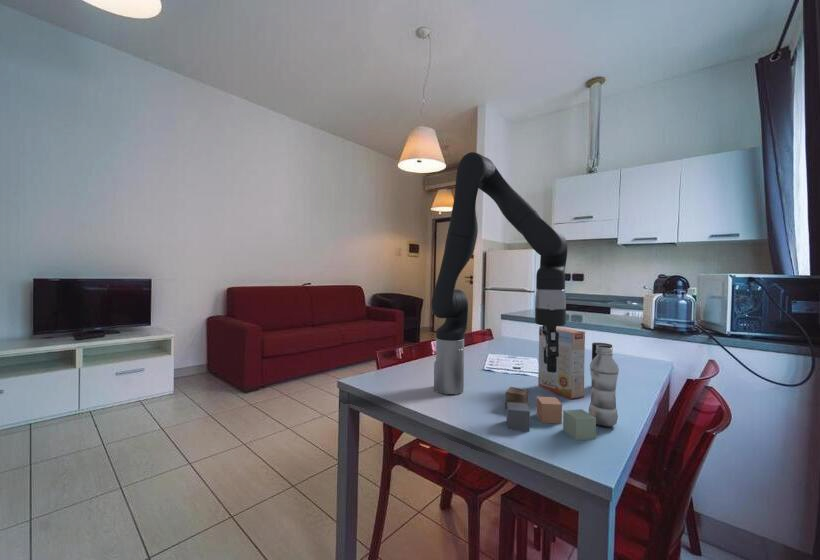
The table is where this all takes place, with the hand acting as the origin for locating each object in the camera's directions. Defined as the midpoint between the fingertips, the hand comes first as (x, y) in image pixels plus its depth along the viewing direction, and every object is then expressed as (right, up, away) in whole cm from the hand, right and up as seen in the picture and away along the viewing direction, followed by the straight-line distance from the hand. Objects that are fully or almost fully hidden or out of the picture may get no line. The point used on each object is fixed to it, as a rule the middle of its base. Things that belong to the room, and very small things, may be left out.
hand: (549, 367), depth 87 cm
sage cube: (+4, -14, -8) cm, 17 cm away
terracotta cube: (0, -14, 0) cm, 14 cm away
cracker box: (+13, -14, +21) cm, 28 cm away
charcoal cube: (-10, -14, -4) cm, 17 cm away
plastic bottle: (+13, -14, -3) cm, 19 cm away
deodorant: (+28, -14, +25) cm, 40 cm away
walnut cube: (-6, -14, +7) cm, 17 cm away
